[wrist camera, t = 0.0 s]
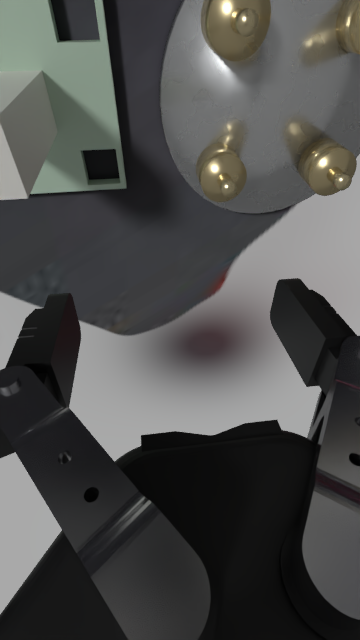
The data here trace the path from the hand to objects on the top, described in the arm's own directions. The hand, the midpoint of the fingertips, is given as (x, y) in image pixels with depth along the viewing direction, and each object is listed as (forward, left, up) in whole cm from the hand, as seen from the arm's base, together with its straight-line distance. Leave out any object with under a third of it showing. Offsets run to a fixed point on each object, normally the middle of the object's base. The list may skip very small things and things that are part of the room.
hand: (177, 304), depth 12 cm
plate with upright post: (+3, -9, -22) cm, 24 cm away
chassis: (-7, +9, -22) cm, 25 cm away
